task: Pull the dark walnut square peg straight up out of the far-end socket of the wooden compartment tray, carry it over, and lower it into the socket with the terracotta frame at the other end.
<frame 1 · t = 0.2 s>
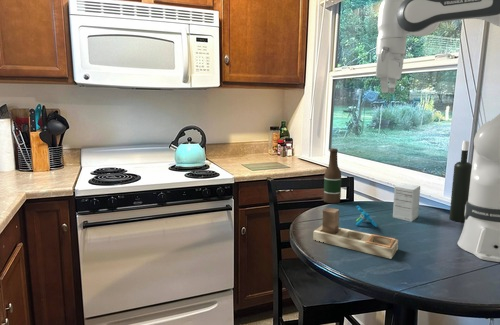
hand: (388, 92, 114), 47 cm above the table, tool pointing down, fingers open, 8 cm apart
peg: (330, 239, 114), resting in wooden compartment tray
beer bottle: (332, 201, 156), on the table
wine bottle: (457, 220, 131), on the table
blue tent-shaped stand: (365, 226, 126), on the table
wooden compartment tray: (354, 244, 110), on the table
supplement box: (405, 217, 134), on the table
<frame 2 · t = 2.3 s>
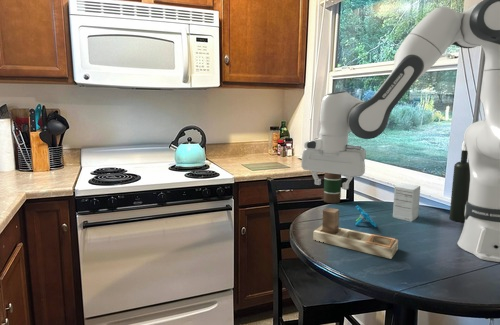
hand: (331, 186, 111), 18 cm above the table, tool pointing down, fingers open, 8 cm apart
nothing on the table moved.
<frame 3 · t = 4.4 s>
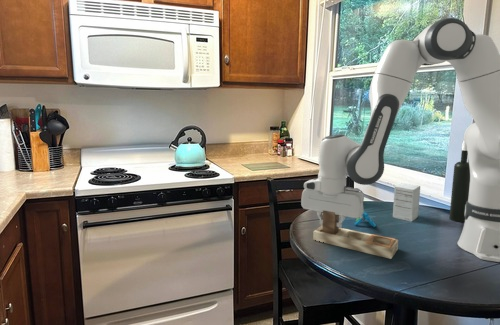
hand: (330, 225, 113), 5 cm above the table, tool pointing down, fingers closed on peg, 4 cm apart
peg: (330, 238, 114), resting in wooden compartment tray, touching gripper
everything else where it was.
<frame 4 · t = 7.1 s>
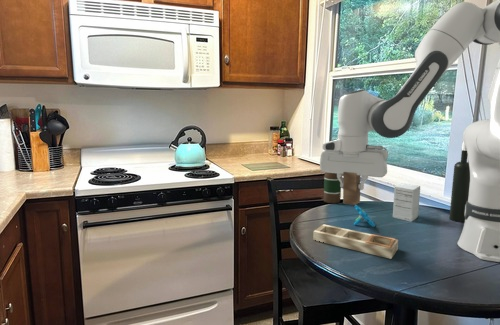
hand: (351, 188, 108), 18 cm above the table, tool pointing down, fingers closed on peg, 4 cm apart
peg: (351, 202, 108), point 13 cm above the table, touching gripper
everything else where it was.
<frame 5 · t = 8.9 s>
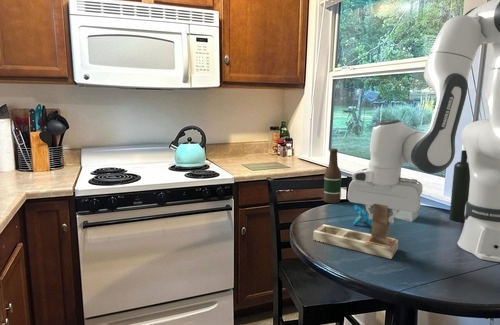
hand: (381, 220, 103), 10 cm above the table, tool pointing down, fingers closed on peg, 4 cm apart
peg: (380, 235, 104), point 5 cm above the table, touching gripper
everything else where it was.
when the fingers open (6 cm above the table, at t = 10.0 s): peg drops 1 cm, resting in wooden compartment tray.
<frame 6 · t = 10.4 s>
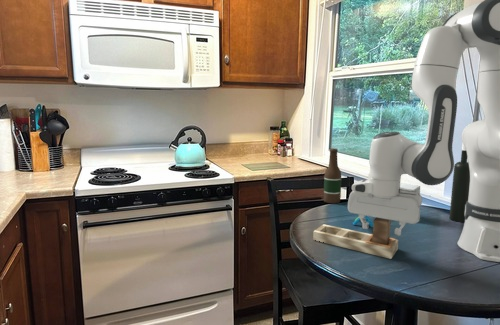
hand: (381, 231, 104), 6 cm above the table, tool pointing down, fingers open, 8 cm apart
peg: (380, 250, 105), resting in wooden compartment tray
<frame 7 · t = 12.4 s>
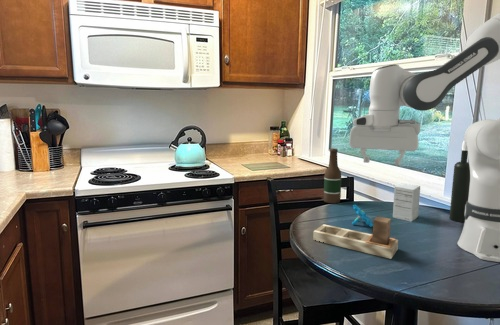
hand: (381, 163, 109), 25 cm above the table, tool pointing down, fingers open, 8 cm apart
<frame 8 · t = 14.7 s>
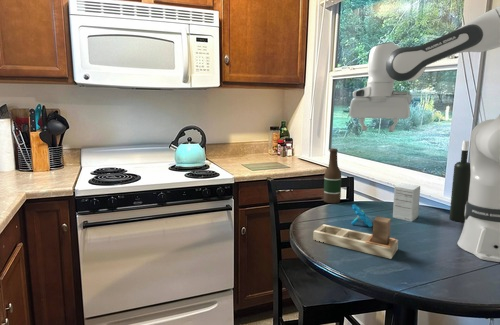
hand: (377, 131, 123), 34 cm above the table, tool pointing down, fingers open, 8 cm apart
at the end: peg 0.1 cm from the target spot on the wooden compartment tray, point 0.0 cm above the wooden compartment tray's base; peg tilted 0°; the gripper is holding nothing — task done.
